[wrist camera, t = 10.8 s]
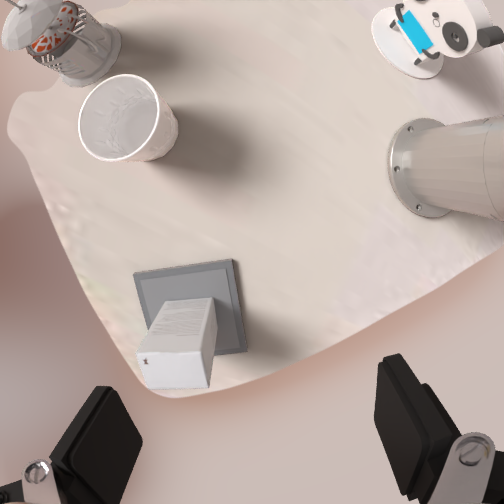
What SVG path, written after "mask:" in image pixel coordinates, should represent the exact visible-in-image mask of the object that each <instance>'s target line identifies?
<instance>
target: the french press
mask: <svg viewBox="0 0 504 504" xmlns="http://www.w3.org/2000/svg"><path fill="white" fill-rule="evenodd" d="M6 1H7V2H9V3H11V4H12V5H14V6H15V7H14V8H13V10H12V11H11V12H10V14H9V15H8V17H7V19H6V22H5V24H4V27H3V32H2V36H1V40H2V45H3V47H4V48H5V49H7V50H8V51H14V50H20V49H23V48H25V47H26V49H27V51H28V53H29V54H30V55H32V56H33V59H35V60H36V61H37V62H39V63H40V64H42V65H44V66H47V67H48V68H51V69H53V70H54V68H56V70H55V71H58V72H59V74H60V77H61V79H62V81H63V82H64V83H66V84H67V85H69V86H70V87H84V86H86V85H89V84H92V83H95V82H96V81H97V80H98V79H100V78H101V77H102V76H104V75H105V74H106V73H107V72H108V71H109V69H110V68H111V67H112V66H113V64H114V63H115V62H116V60H117V57H118V54H119V52H120V49H121V36H120V34H119V32H118V31H117V29H116V28H115V27H113V26H111V25H109V24H107V23H104V24H100V23H99V22H98V21H97V20H96V19H95V18H94V17H92V16H91V15H90V14H89V13H88V12H87V11H86V10H85V11H84V10H81V11H79V12H78V8H82V9H84V8H83V7H82V6H81V5H78V4H75V3H73V2H70V1H63V0H20V1H19V2H18V3H17V4H16V3H14V2H13V1H11V0H6ZM82 13H86V15H83V16H82V17H79V16H78V15H80V14H82ZM91 17H92V18H93V19H92V18H91ZM84 18H86V20H85V19H84ZM81 20H82V21H84V22H82V23H80V24H78V25H77V26H75V25H76V23H77V22H79V21H81ZM84 24H85V27H84V28H82V29H80V30H79V31H77V32H75V33H73V31H74V30H76V29H77V28H79V27H81V26H82V25H84ZM47 54H49V62H47ZM52 55H53V56H54V60H53V61H52ZM41 56H44V61H45V63H42V58H41ZM58 63H59V65H58V66H57V64H58ZM49 65H50V67H49ZM53 65H55V66H54V67H53ZM58 68H59V69H58Z"/></svg>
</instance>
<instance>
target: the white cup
mask: <svg viewBox="0 0 504 504" xmlns="http://www.w3.org/2000/svg"><path fill="white" fill-rule="evenodd" d="M78 130H79V136H80V139H81V142H82V144H83V146H84V147H85V149H86V150H87V151H88V152H89V153H90V154H91V155H92V156H94V157H95V158H97V159H99V160H102V161H107V162H138V161H146V160H148V161H152V160H154V159H157V158H160V157H163V156H164V155H165V154H166V153H167V152H168V151H169V150H170V149H171V148H172V147H173V146H174V144H175V141H176V139H177V137H178V121H177V119H176V117H175V116H174V114H173V112H172V110H171V109H170V107H169V106H168V104H167V103H166V102H165V100H164V99H163V98H162V97H161V96H160V94H159V93H158V92H157V91H156V89H155V88H154V87H153V86H152V85H151V84H150V83H149V82H148V81H147V80H146V79H144V78H142V77H140V76H137V75H132V74H121V75H116V76H113V77H111V78H108V79H106V80H105V81H103V82H101V83H100V84H99V85H98V86H96V87H95V88H94V89H93V90H92V92H91V93H90V94H89V95H88V97H87V98H86V100H85V102H84V104H83V106H82V108H81V111H80V115H79V122H78Z"/></svg>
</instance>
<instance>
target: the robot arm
mask: <svg viewBox="0 0 504 504" xmlns="http://www.w3.org/2000/svg"><path fill="white" fill-rule="evenodd" d="M408 130H409V132H408ZM394 168H395V171H394ZM388 173H389V177H390V182H391V184H392V187H393V189H394V192H395V193H396V195H397V197H398V198H399V200H400V201H401V202H402V203H403V204H404V206H405V207H407V208H408V209H409V210H410V211H412V212H414V213H416V214H418V215H421V216H424V217H431V218H434V217H440V216H443V215H445V214H447V213H449V212H450V211H452V210H456V211H461V212H465V213H470V214H474V215H479V216H483V217H487V218H491V219H495V220H499V221H503V222H504V115H503V116H497V117H491V118H485V119H479V120H473V121H468V122H462V123H457V124H452V125H447V126H445V125H444V124H442V123H441V122H439V121H436V120H434V119H428V118H421V119H416V120H412V121H410V122H408V123H406V124H405V125H403V126H402V127H401V128H400V129H399V130H398V131H397V133H396V134H395V135H394V137H393V140H392V142H391V144H390V148H389V152H388ZM416 206H417V208H416ZM374 421H375V425H376V428H377V430H378V433H379V436H380V438H381V441H382V443H383V446H384V449H385V451H386V454H387V457H388V459H389V462H390V465H391V468H392V470H393V473H394V476H395V479H396V481H397V484H398V487H399V490H400V493H401V494H402V495H403V496H404V495H407V497H408V500H409V501H411V500H414V499H416V498H418V500H419V503H420V504H504V452H501V451H496V450H495V445H494V443H493V441H492V440H491V438H490V437H488V436H487V435H485V434H482V433H477V432H475V433H474V432H471V433H467V434H464V435H461V433H460V431H459V430H458V428H457V427H456V425H455V424H454V422H453V420H452V419H451V417H450V416H449V414H448V413H447V411H446V410H445V408H444V407H443V405H442V404H441V402H440V401H439V399H438V398H437V396H436V395H435V393H434V392H433V390H432V389H431V387H430V386H429V385H428V384H426V383H424V384H420V382H419V380H418V379H417V377H416V376H415V374H414V373H413V372H412V370H411V369H410V367H409V365H408V364H407V363H406V361H405V360H404V359H403V357H402V355H401V354H399V353H398V354H395V355H391V356H387V357H384V358H383V362H380V363H379V364H378V375H377V388H376V401H375V411H374ZM142 443H143V441H142V437H141V435H140V433H139V432H138V430H137V428H136V426H135V425H134V423H133V421H132V420H131V417H130V416H129V414H128V412H127V410H126V408H125V406H124V404H123V403H122V400H121V398H120V396H119V395H118V393H117V391H115V390H114V389H113V388H112V387H110V386H96V387H95V389H94V390H93V392H92V393H91V394H90V396H89V397H88V399H87V400H86V402H85V403H84V405H83V406H82V408H81V409H80V410H79V412H78V414H77V415H76V416H75V418H74V419H73V421H72V422H71V424H70V426H69V427H68V429H67V430H66V432H65V433H64V434H63V436H62V438H61V439H60V441H59V442H58V444H57V445H56V447H55V448H54V450H53V451H52V453H51V455H50V456H49V458H50V459H51V460H52V463H51V464H50V463H49V462H48V461H46V460H43V459H37V460H33V461H31V462H29V463H28V464H27V465H26V466H25V467H24V469H23V471H22V476H21V478H22V480H19V481H16V482H13V483H10V484H8V485H4V486H1V487H0V504H120V501H121V499H122V495H123V493H124V490H125V488H126V485H127V482H128V480H129V477H130V475H131V473H132V470H133V467H134V465H135V462H136V460H137V457H138V455H139V452H140V450H141V447H142Z"/></svg>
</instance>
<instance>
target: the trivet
mask: <svg viewBox="0 0 504 504" xmlns="http://www.w3.org/2000/svg"><path fill="white" fill-rule="evenodd" d="M133 277H134V281H135V285H136V289H137V292H138V296H139V300H140V304H141V307H142V311H143V314H144V318H145V321H146V325H147V328H148V330H149V328H150V327H151V325H152V323H153V321H154V320H155V318H156V316H157V315H158V313H159V311H160V309H161V308H162V306H163V304H164V303H165V301H175V300H187V299H199V298H210V297H213V299H214V306H215V312H216V319H217V325H218V330H217V337H216V343H215V350H214V355H223V354H232V353H241V352H247V343H246V338H245V332H244V327H243V321H242V315H241V310H240V304H239V298H238V292H237V286H236V281H235V275H234V269H233V263H232V259H226V260H219V261H212V262H205V263H198V264H191V265H184V266H177V267H170V268H163V269H156V270H149V271H142V272H135V273H134V274H133Z"/></svg>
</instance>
